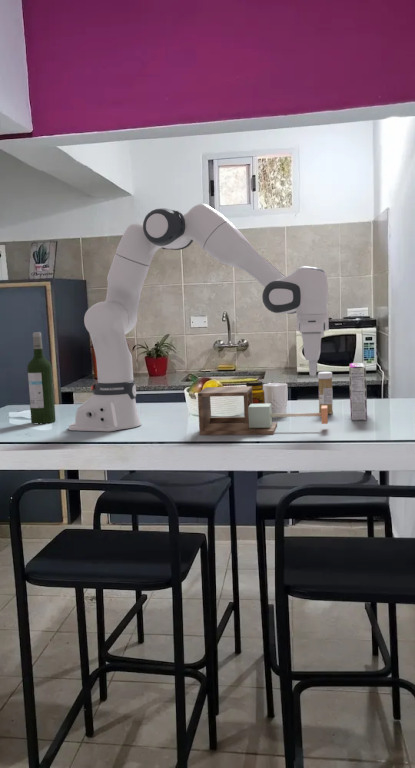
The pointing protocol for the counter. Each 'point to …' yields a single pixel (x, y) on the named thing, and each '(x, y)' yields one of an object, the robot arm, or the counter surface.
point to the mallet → (276, 415)
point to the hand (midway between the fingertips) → (313, 373)
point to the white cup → (276, 396)
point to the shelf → (227, 424)
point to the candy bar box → (358, 391)
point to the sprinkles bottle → (325, 391)
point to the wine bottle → (40, 385)
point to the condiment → (256, 392)
